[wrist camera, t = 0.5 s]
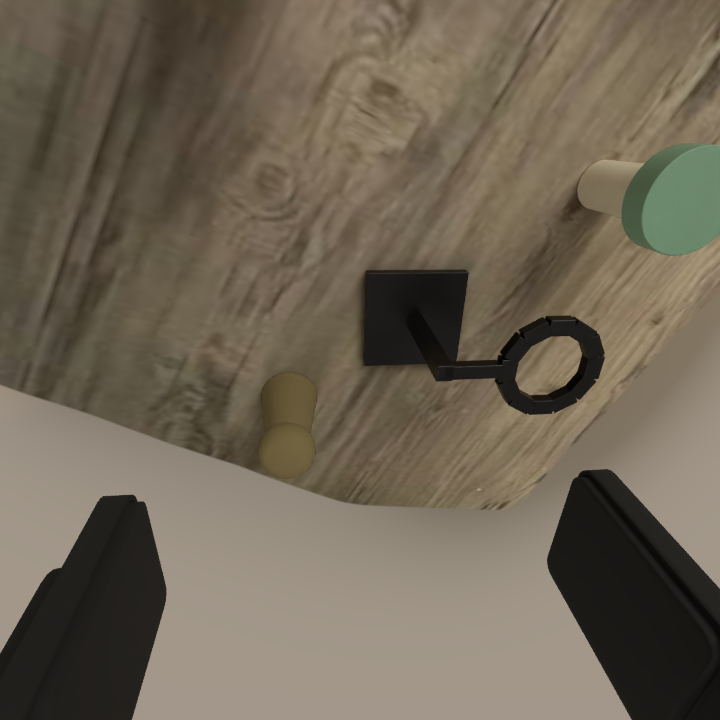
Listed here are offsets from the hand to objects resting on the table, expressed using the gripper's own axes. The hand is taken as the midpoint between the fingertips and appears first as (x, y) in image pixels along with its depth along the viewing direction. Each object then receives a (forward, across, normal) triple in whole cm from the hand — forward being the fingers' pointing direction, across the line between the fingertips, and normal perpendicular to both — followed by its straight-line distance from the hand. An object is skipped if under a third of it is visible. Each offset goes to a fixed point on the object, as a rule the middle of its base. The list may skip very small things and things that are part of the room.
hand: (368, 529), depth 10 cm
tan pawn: (+35, +3, +18) cm, 40 cm away
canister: (+35, -26, -4) cm, 44 cm away
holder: (+35, -14, +9) cm, 39 cm away
